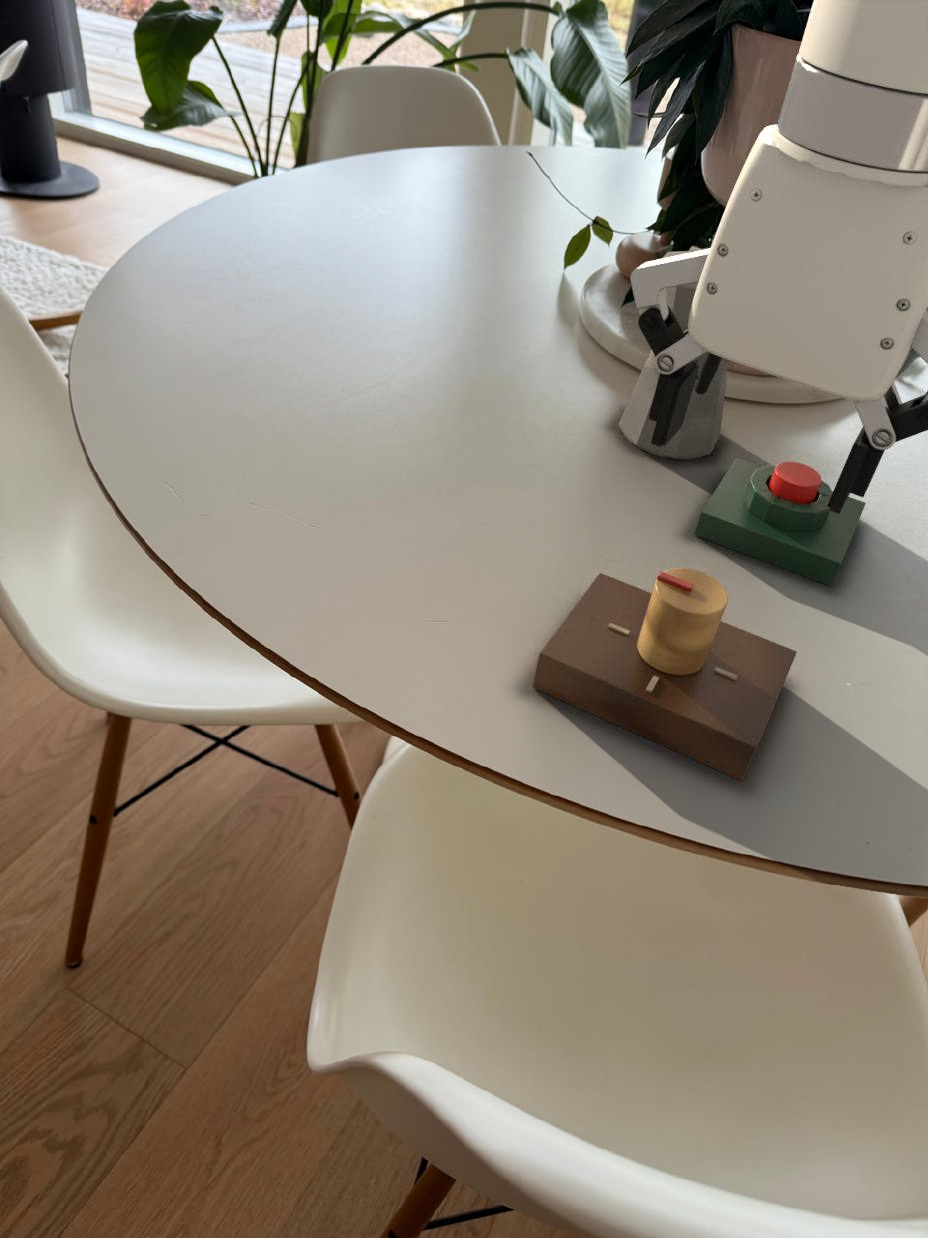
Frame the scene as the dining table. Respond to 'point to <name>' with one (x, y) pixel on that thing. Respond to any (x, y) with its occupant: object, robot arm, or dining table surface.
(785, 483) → the button
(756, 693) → the panel
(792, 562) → the button box
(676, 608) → the dial
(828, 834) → the dining table surface
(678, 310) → the coffeepot
